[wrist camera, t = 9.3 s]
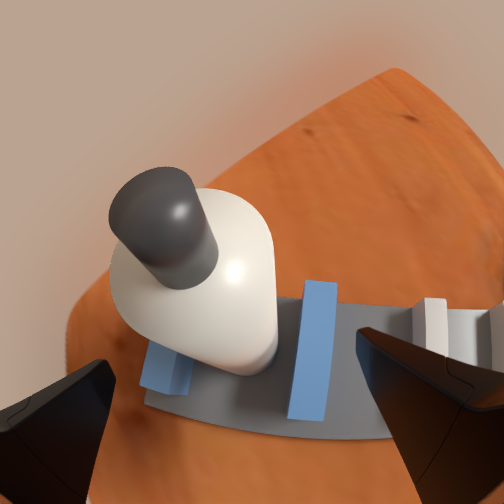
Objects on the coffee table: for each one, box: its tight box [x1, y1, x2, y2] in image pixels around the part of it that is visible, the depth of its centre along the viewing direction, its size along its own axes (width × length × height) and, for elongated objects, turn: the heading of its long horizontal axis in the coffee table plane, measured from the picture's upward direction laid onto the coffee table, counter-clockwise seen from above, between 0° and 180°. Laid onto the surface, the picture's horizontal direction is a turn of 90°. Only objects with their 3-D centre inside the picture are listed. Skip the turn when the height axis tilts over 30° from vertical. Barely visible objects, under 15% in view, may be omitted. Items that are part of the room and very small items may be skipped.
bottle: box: [109, 167, 278, 376], centre depth 10 cm, size 4×4×14 cm
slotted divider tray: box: [139, 280, 504, 439], centre depth 14 cm, size 9×28×4 cm, turn 80°
